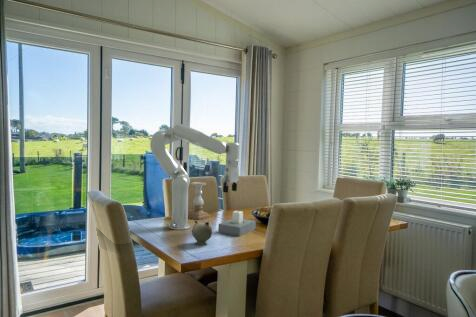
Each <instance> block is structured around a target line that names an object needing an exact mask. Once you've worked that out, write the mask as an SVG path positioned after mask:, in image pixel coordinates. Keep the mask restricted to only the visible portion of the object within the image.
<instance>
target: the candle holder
mask: <svg viewBox="0 0 476 317" xmlns="http://www.w3.org/2000/svg"><path fill="white" fill-rule="evenodd" d="M190 184H191V185H192V186H194V187H195V191H194V193H195V197H194V198H193V200H192V204H193V205H194V206H193V210H192V211H191V212H188V219H191V220H195V221H201V220H205V219H208V218H210V214H208V212H206V211H204V210H203V209H204V208H203V205H204V199H203V197H202V194H203V190H202V188H203V186H206V185H207V182H203V181H192V182H190Z"/></svg>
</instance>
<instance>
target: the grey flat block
mask: <svg viewBox="0 0 476 317" xmlns="http://www.w3.org/2000/svg"><path fill="white" fill-rule="evenodd" d="M256 223H257V221H256V220H253V219H252V220H251V219H246V218H243V223H241V224H236V223H232V219H228V220H226V221H223V222H220V223H218V233H220V234H224V235H231V236H235V237H241V236H243V235H245V234H247V233H250V232H252V231H255V230H256Z"/></svg>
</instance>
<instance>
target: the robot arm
mask: <svg viewBox="0 0 476 317" xmlns="http://www.w3.org/2000/svg"><path fill="white" fill-rule="evenodd" d="M180 140H182V141H184V142H187V143H188V144H191V145H195V146H197V147H200V148H202V149H205V150H207V151H210V152H212V153H214V154H218V155H222V154H225V167H224V174H223V177H222V178H221V180H222V186H223V187H222V188H223V189H222V192H223V193H229V184H230V183H231V191H233V192H237V190H238V189H237V188H238V183H239V180H240V177H239V174H240V173H239V171H240V169H239V155H240V143H238V142H232V141H230V142H227V141H226V142H225V141H222V140H219V139H216V138H214V137H212V136H209V135H207V134H205V133H204V132H202V131H200V130H197V129H194V128H192V127H190V126H187V125H184V124H182V123H177V124H174V126H173V127H171V128H168V129H166V130H158V131H156V132H154V133H153V135H152V136H151V139H150V144H149V145H150V146H149V147H150V151H151V153H152V154H153V156H154V158H155V159H156V162H157V163H158V165H159V166H160V167H161V169H162V171H163V172H164V173H165V175H167V176H170V178H171V179H172V181H171V220H170V222H169V223H166V227H168V228H169V229H171V230H176V231H177V230H178V231H181V230H188V229H190V228H191V225H190V224H189V223H188V219H189V218H188V214H189V186H190V184H191V178H190V176H189V174H188V172H186V170H185V168H184V167H183V165H182V164H181V163H180V161H178V160H177V159H176V158H174V157H173V156H172V155H171V153H170V152H169V150H168V149H167V147H166V145H170V144H173V143H174V142H178V141H180Z"/></svg>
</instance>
